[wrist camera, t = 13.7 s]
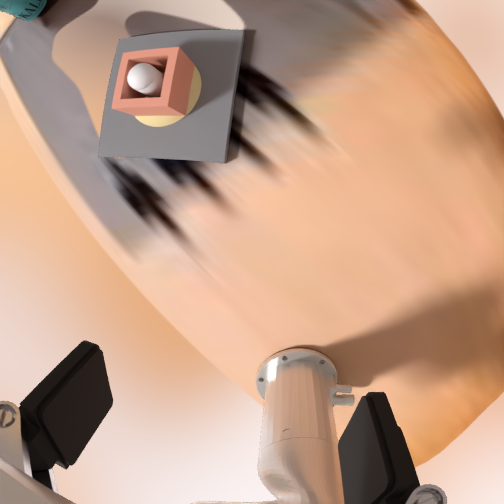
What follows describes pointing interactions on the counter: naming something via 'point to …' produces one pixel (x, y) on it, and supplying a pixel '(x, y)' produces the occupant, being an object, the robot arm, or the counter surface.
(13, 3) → the beverage bottle
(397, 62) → the counter surface
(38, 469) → the robot arm
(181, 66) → the collar
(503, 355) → the counter surface
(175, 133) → the post board
